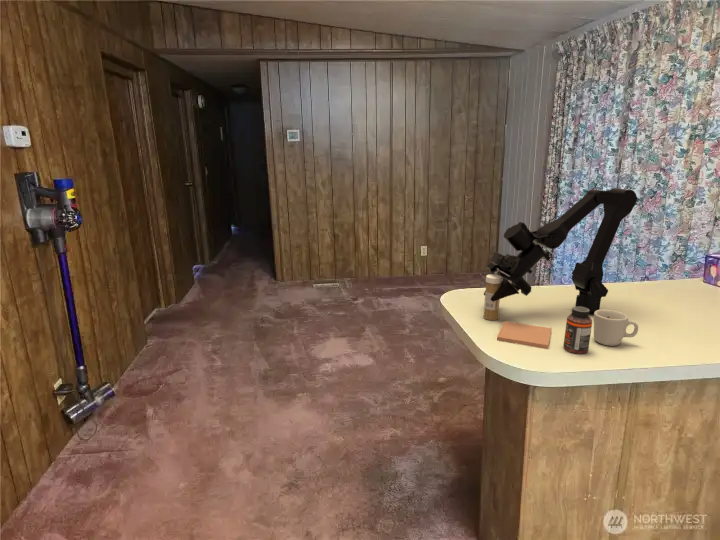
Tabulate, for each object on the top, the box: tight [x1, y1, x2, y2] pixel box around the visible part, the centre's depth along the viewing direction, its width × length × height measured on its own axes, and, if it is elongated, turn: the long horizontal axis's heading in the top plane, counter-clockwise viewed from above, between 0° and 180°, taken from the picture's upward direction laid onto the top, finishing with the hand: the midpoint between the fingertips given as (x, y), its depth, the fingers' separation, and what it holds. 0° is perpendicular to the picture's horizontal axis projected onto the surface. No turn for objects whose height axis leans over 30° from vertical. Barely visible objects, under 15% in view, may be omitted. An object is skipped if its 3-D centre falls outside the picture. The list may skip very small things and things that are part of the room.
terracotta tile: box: [496, 320, 552, 350], centre depth 132 cm, size 13×13×1 cm
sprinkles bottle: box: [482, 273, 502, 321], centre depth 144 cm, size 5×5×13 cm
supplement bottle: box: [563, 306, 593, 355], centre depth 122 cm, size 6×6×11 cm
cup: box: [593, 309, 639, 347], centre depth 127 cm, size 11×8×8 cm
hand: (488, 297), depth 143 cm, fingers closed on sprinkles bottle, 4 cm apart
